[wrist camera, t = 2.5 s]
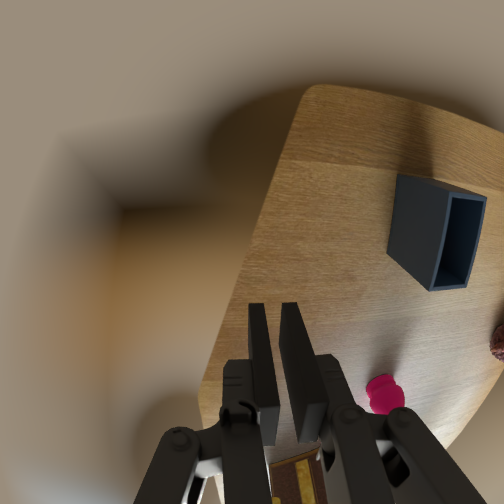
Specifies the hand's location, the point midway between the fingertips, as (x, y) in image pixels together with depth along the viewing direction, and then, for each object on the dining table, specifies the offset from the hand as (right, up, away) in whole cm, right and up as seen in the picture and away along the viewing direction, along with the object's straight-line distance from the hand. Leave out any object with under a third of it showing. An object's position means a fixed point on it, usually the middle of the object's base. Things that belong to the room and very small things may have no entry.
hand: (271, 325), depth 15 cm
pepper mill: (+25, -23, +37) cm, 51 cm away
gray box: (+23, +9, +24) cm, 34 cm away
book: (+12, -51, +47) cm, 71 cm away
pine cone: (+62, -16, +36) cm, 73 cm away
